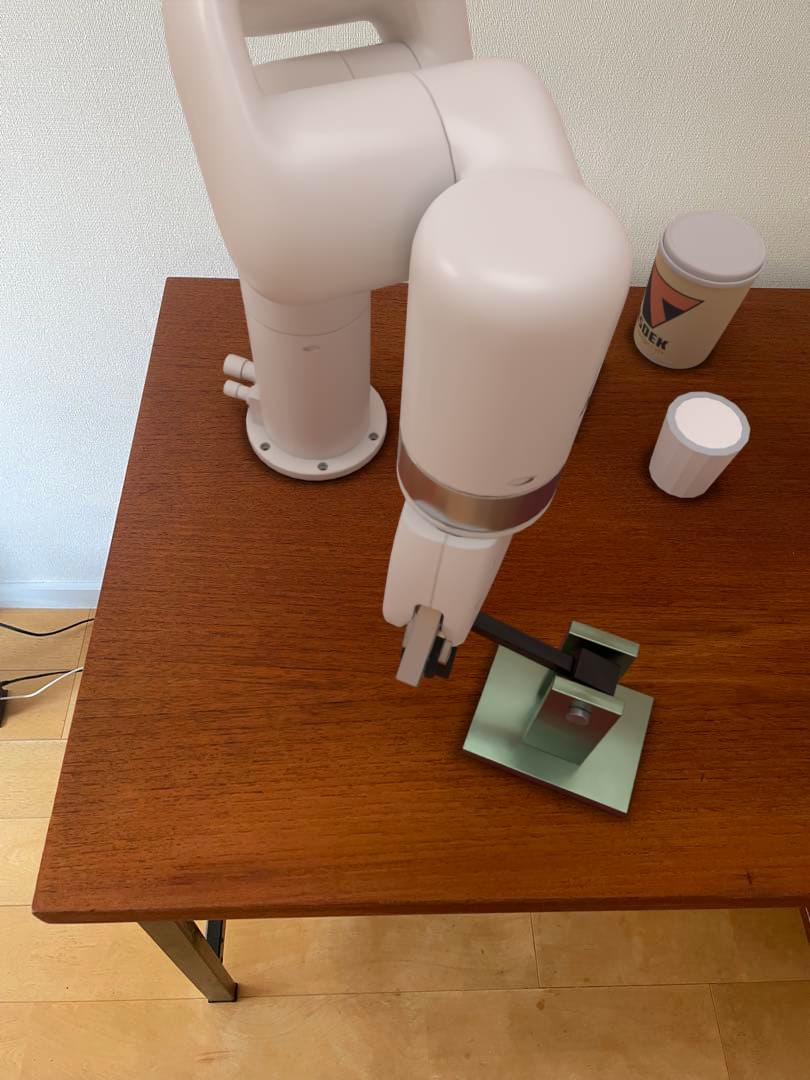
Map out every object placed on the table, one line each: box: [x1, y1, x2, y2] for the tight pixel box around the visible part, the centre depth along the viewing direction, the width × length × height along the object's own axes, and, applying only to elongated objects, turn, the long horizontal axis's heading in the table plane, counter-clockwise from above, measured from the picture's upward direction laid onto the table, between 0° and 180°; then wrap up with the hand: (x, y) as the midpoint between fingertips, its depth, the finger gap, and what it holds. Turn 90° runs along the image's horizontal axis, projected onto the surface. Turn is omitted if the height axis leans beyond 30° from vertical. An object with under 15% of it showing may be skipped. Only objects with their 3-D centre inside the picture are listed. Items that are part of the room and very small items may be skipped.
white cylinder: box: [648, 391, 751, 499], centre depth 69 cm, size 7×7×7 cm
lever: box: [437, 610, 621, 697], centre depth 50 cm, size 12×6×2 cm, turn 69°
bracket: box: [460, 619, 655, 818], centre depth 54 cm, size 12×9×12 cm
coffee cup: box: [633, 209, 767, 370], centre depth 75 cm, size 9×9×12 cm
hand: (445, 619), depth 51 cm, fingers closed on lever, 6 cm apart
